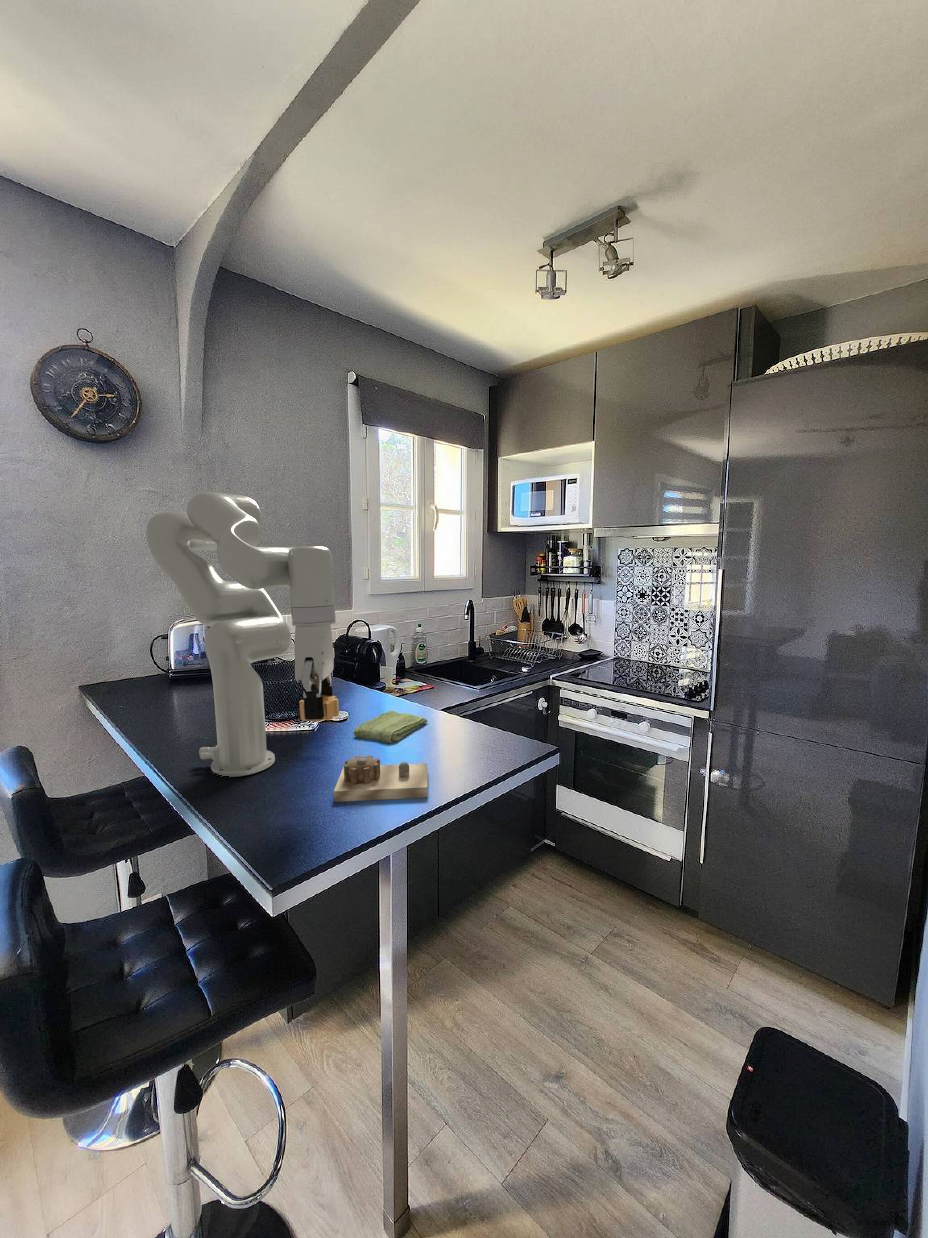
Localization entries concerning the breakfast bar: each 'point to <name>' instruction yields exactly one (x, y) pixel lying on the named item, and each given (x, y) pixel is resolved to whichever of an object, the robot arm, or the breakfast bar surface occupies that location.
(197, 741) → the breakfast bar surface
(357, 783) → the gear board
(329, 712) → the loose gear
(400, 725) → the washcloth
